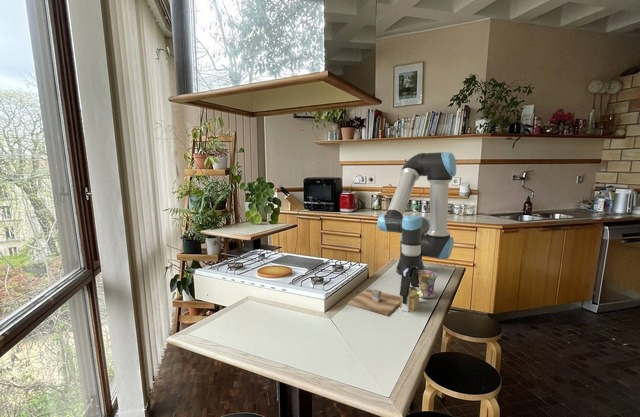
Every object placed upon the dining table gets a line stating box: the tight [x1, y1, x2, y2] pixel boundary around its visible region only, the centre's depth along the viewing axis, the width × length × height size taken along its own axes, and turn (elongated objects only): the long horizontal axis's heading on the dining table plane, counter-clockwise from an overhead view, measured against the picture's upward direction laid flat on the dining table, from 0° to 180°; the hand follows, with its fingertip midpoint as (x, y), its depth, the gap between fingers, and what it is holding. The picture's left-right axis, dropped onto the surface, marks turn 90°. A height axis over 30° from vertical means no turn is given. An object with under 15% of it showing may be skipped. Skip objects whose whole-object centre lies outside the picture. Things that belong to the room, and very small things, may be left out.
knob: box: [399, 286, 420, 312], centre depth 128 cm, size 6×6×8 cm
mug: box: [417, 269, 438, 299], centre depth 139 cm, size 12×9×11 cm
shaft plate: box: [347, 288, 400, 317], centre depth 132 cm, size 18×18×5 cm
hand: (409, 306), depth 128 cm, fingers open, 9 cm apart
